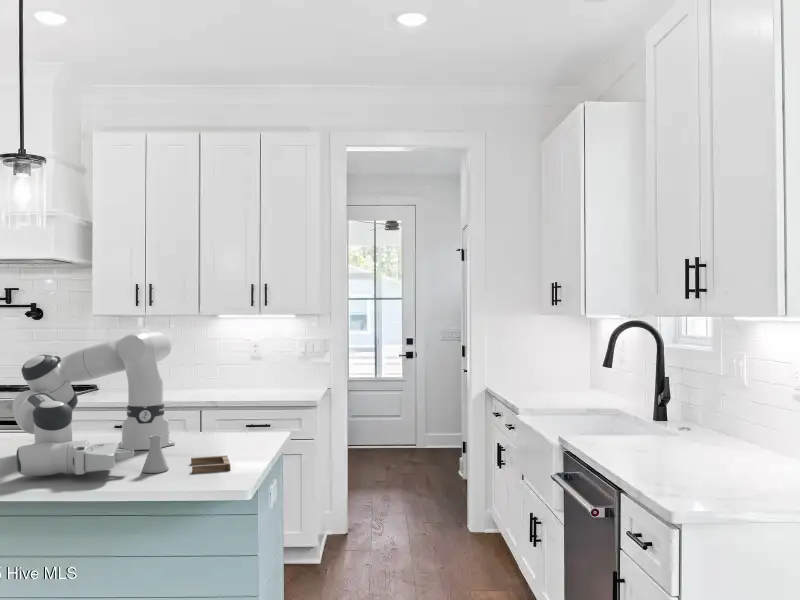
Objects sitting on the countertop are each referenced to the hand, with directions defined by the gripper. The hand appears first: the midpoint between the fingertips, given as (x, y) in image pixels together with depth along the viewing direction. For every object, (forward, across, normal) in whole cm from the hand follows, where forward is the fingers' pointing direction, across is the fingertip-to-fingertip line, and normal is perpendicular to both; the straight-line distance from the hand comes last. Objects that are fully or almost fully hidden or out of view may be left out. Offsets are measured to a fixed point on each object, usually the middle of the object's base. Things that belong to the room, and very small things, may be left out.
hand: (134, 453), depth 200 cm
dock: (+21, 0, -5) cm, 21 cm away
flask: (+6, 0, -6) cm, 8 cm away
